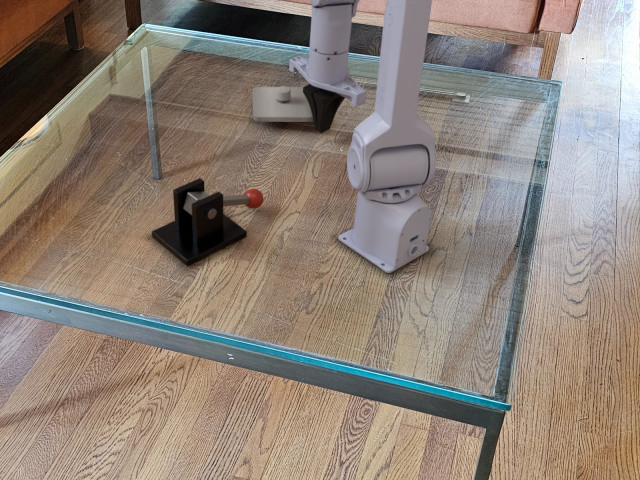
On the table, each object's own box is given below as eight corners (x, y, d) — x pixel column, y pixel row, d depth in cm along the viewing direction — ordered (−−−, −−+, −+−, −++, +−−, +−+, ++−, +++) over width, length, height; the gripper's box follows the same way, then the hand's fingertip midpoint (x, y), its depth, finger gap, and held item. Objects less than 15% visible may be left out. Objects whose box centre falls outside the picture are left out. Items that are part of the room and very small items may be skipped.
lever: (251, 202, 118) (256, 184, 117) (264, 211, 117) (269, 193, 115) (181, 209, 110) (186, 189, 108) (194, 219, 108) (199, 199, 107)
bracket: (210, 209, 118) (209, 165, 113) (246, 237, 113) (247, 192, 108) (151, 237, 113) (148, 192, 108) (187, 266, 108) (185, 221, 103)
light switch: (314, 132, 133) (317, 103, 130) (252, 132, 133) (253, 103, 130) (310, 102, 141) (312, 74, 137) (251, 101, 141) (252, 74, 137)
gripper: (385, 56, 119) (374, 139, 128) (315, 22, 127) (309, 103, 136) (350, 70, 116) (341, 155, 125) (280, 35, 124) (277, 117, 133)
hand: (322, 129), depth 130 cm, fingers closed
